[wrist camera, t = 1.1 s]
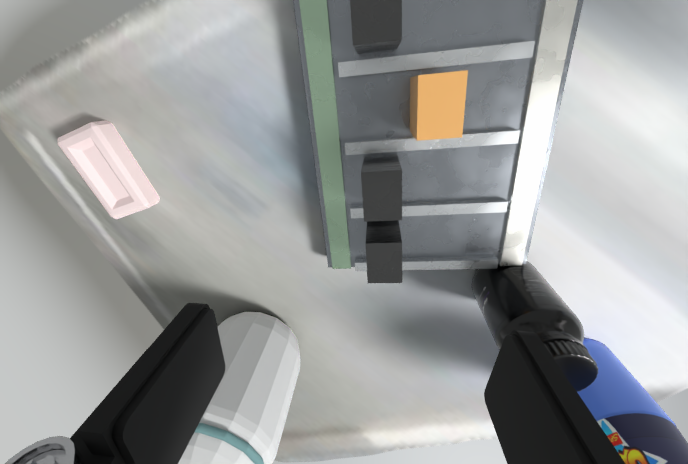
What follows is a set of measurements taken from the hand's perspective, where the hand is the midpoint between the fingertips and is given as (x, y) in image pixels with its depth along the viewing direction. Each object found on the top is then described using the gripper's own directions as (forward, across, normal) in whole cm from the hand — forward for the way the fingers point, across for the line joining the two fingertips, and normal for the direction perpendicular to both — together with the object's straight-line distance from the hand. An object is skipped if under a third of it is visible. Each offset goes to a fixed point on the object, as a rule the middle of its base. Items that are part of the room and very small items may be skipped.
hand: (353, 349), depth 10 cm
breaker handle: (+19, -5, -7) cm, 21 cm away
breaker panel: (+21, -5, -4) cm, 22 cm away
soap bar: (+22, +27, +1) cm, 35 cm away
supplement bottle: (+22, -16, +11) cm, 29 cm away
